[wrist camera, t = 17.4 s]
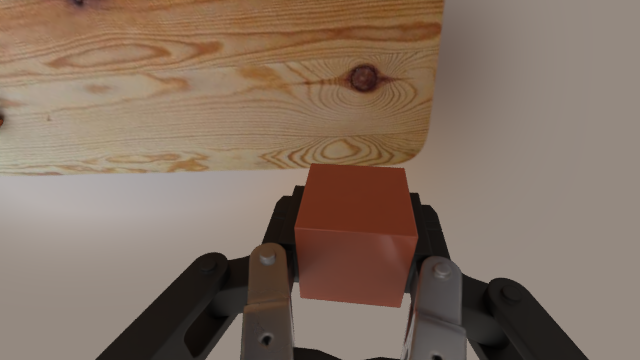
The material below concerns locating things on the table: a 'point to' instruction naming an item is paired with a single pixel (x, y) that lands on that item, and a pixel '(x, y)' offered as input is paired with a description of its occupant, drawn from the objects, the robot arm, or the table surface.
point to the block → (355, 235)
